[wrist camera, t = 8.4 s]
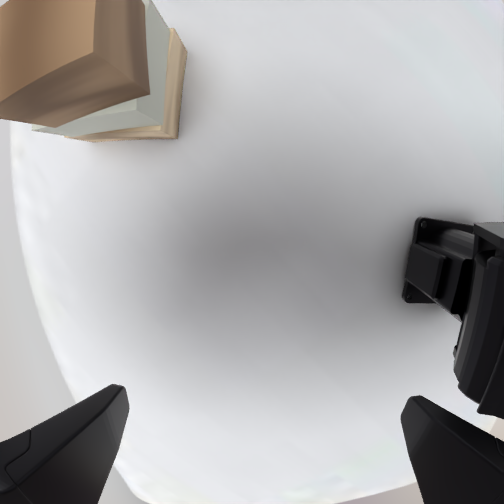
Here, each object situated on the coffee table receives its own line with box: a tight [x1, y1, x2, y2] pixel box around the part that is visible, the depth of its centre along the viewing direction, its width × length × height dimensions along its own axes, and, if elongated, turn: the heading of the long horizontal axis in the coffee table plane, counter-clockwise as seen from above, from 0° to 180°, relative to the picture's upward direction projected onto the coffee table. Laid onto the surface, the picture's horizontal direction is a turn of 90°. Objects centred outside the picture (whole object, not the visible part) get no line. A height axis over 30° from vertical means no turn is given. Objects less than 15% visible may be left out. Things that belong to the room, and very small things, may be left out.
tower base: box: [65, 28, 187, 142], centre depth 16 cm, size 6×6×4 cm
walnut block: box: [0, 0, 150, 128], centre depth 8 cm, size 5×5×5 cm
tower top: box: [32, 0, 170, 137], centre depth 12 cm, size 6×6×4 cm
